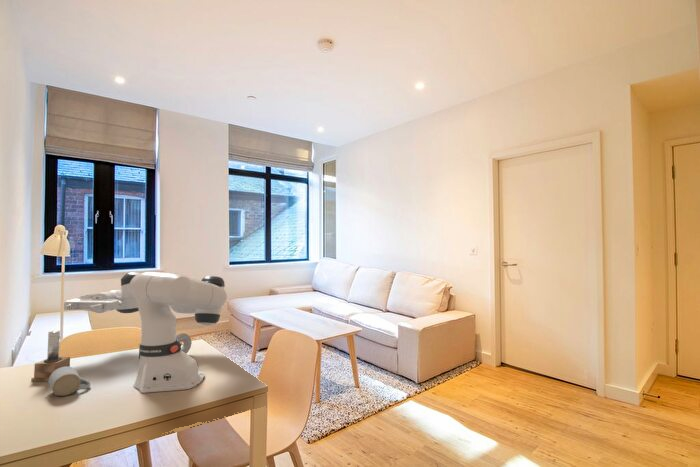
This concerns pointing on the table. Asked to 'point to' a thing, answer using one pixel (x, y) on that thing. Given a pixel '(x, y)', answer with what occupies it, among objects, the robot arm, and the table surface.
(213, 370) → the table surface
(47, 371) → the walnut stand
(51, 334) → the brushed metal cylinder
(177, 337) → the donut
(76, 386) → the ceramic mug
